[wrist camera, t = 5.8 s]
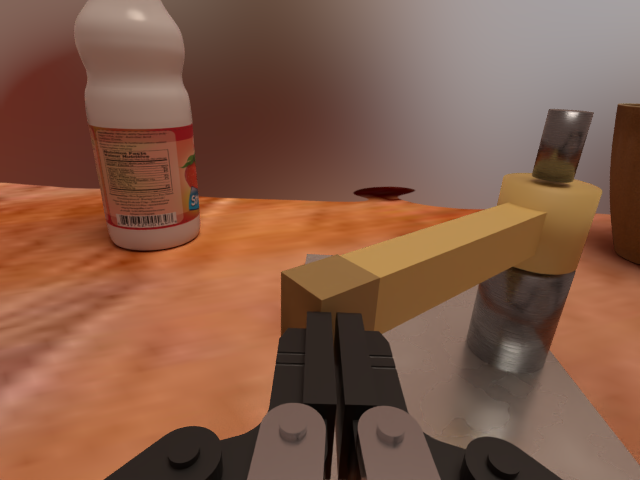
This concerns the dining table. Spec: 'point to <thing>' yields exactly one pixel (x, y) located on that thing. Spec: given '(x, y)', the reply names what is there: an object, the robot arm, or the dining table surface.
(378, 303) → the lever handle
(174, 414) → the dining table surface
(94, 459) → the dining table surface
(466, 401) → the square base plate stand
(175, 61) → the fruit juice
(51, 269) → the dining table surface
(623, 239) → the plant pot
